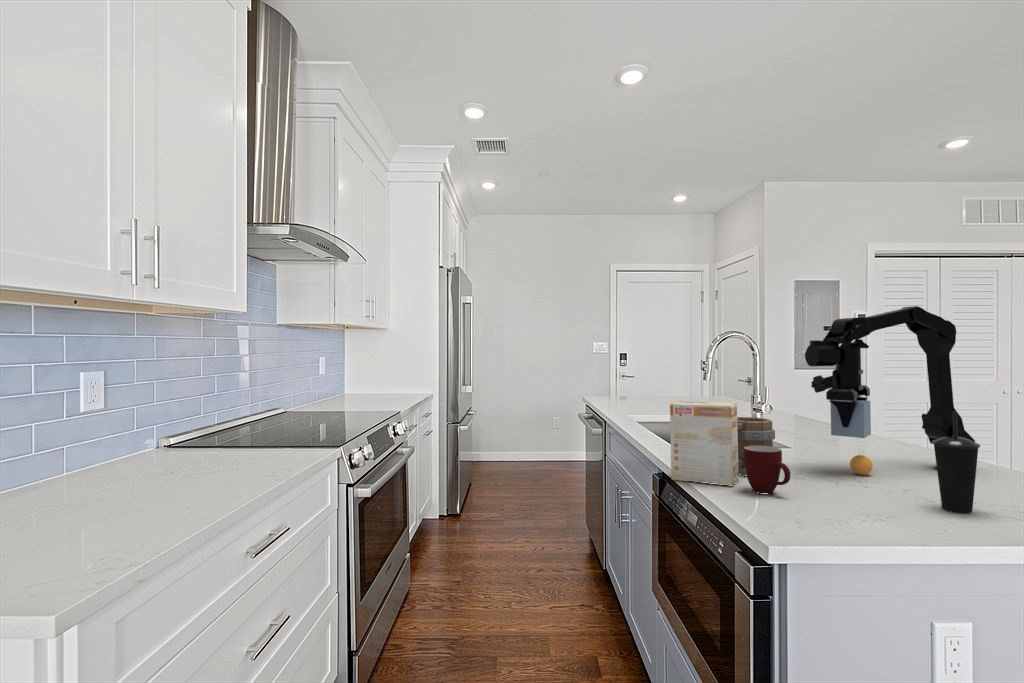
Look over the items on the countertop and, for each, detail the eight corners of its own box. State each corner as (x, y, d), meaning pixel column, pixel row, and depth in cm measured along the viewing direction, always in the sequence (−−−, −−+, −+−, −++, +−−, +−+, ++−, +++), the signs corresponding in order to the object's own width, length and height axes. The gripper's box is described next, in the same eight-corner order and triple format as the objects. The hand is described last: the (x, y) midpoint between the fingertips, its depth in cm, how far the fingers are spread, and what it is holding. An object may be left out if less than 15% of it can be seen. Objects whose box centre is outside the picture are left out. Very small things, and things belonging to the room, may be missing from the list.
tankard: (743, 464, 159) (743, 411, 159) (786, 472, 149) (786, 415, 149) (697, 473, 148) (697, 416, 148) (740, 483, 138) (739, 421, 138)
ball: (865, 450, 147) (878, 468, 145) (847, 459, 150) (860, 476, 148) (862, 453, 143) (875, 471, 141) (843, 462, 146) (856, 479, 144)
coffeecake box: (739, 481, 140) (737, 402, 140) (732, 487, 134) (731, 405, 134) (679, 474, 148) (677, 400, 148) (670, 480, 142) (669, 403, 142)
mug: (800, 494, 127) (799, 450, 127) (783, 501, 122) (782, 455, 122) (755, 486, 135) (754, 444, 135) (737, 491, 130) (736, 448, 130)
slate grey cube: (838, 431, 152) (838, 399, 153) (870, 434, 147) (870, 400, 147) (831, 435, 147) (830, 401, 147) (864, 438, 142) (863, 403, 142)
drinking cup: (963, 505, 118) (962, 409, 118) (991, 516, 110) (989, 413, 110) (924, 504, 118) (923, 409, 118) (949, 515, 111) (947, 413, 111)
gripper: (824, 364, 160) (825, 419, 160) (803, 366, 146) (805, 426, 146) (869, 364, 152) (870, 422, 152) (852, 367, 139) (854, 430, 139)
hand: (849, 425), depth 147 cm, fingers closed on slate grey cube, 7 cm apart
